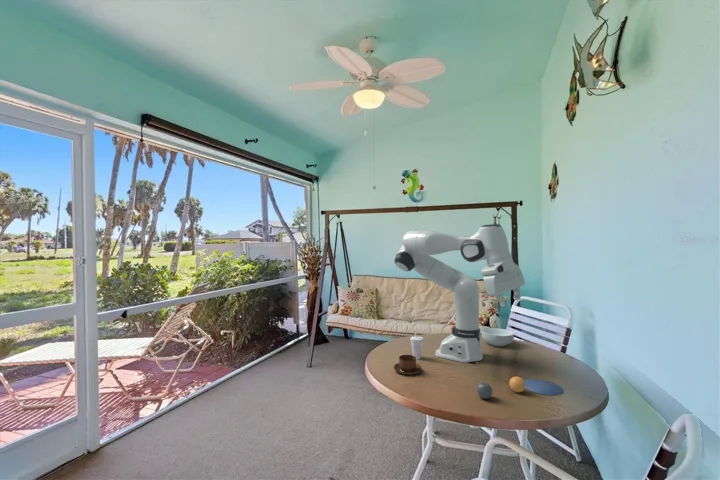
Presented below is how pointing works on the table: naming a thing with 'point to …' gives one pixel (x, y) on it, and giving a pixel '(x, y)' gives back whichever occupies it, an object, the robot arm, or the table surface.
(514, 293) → the robot arm
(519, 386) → the orange ball
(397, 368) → the cup and saucer
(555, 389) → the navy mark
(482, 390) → the charcoal ball
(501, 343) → the cereal bowl
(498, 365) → the table surface
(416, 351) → the smoothie
